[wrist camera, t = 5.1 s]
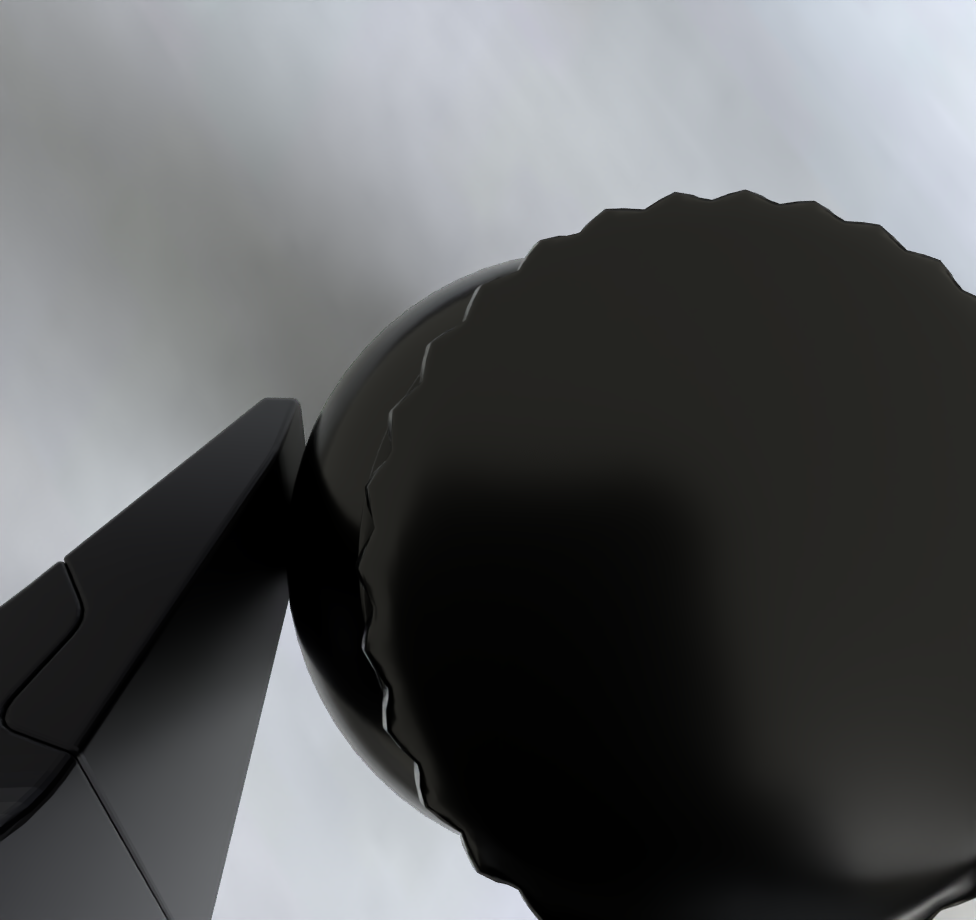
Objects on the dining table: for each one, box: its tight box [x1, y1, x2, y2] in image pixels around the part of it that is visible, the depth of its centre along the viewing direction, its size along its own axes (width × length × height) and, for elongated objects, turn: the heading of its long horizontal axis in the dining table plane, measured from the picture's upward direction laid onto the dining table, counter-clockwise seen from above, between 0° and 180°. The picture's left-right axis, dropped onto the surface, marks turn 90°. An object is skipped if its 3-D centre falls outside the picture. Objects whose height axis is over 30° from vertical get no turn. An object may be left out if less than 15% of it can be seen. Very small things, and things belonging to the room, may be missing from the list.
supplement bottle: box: [286, 190, 976, 920], centre depth 10 cm, size 7×7×12 cm
